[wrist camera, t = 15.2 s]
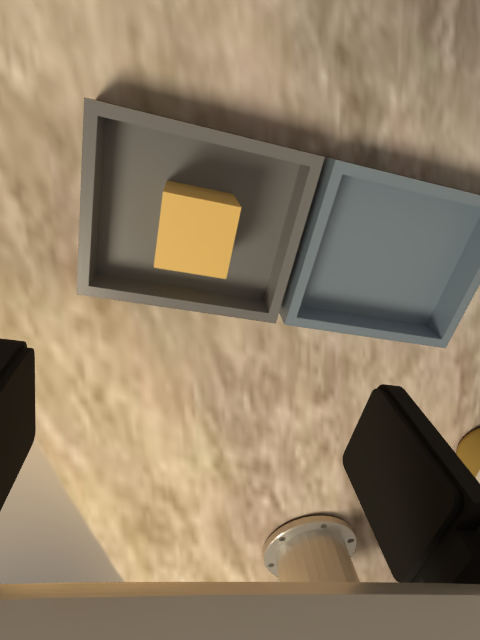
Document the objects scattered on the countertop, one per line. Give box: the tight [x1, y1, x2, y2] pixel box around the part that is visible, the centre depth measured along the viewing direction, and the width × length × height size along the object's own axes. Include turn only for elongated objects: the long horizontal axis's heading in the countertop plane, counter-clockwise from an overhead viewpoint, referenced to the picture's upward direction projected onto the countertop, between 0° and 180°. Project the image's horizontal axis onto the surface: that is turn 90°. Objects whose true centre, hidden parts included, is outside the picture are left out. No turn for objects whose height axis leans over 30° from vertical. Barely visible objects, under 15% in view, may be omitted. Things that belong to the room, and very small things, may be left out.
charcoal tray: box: [77, 98, 325, 323], centre depth 29 cm, size 13×16×3 cm
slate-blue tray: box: [279, 156, 480, 348], centre depth 32 cm, size 13×16×3 cm
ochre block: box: [154, 180, 242, 279], centre depth 27 cm, size 5×5×5 cm
